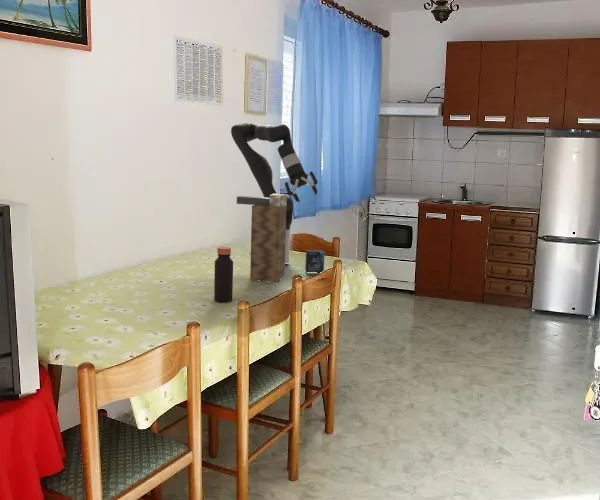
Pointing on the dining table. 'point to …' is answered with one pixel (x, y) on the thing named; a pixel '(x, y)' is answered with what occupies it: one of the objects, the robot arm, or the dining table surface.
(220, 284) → the bottle
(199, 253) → the dining table surface
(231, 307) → the dining table surface
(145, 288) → the dining table surface
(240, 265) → the dining table surface
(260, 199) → the dark grey matte block
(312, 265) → the box
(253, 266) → the stand
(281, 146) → the robot arm
